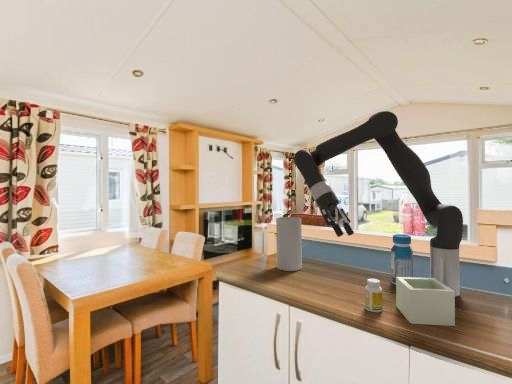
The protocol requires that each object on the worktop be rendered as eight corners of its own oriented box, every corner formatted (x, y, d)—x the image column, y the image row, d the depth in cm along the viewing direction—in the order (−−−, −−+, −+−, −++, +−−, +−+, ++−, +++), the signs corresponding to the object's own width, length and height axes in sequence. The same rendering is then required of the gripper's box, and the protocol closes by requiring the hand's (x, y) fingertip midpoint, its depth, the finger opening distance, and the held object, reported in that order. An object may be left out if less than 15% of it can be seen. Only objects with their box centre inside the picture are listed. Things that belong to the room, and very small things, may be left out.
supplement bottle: (362, 309, 94) (362, 280, 93) (368, 304, 97) (368, 276, 97) (379, 314, 90) (378, 284, 90) (385, 308, 94) (384, 280, 94)
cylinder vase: (272, 266, 145) (271, 218, 145) (292, 263, 151) (291, 216, 150) (286, 273, 134) (285, 220, 134) (307, 269, 140) (306, 218, 139)
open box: (396, 306, 95) (396, 276, 95) (434, 308, 94) (434, 278, 94) (410, 323, 84) (410, 289, 83) (454, 325, 82) (454, 291, 82)
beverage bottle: (403, 288, 112) (402, 237, 112) (386, 281, 120) (385, 234, 120) (418, 285, 115) (418, 236, 115) (400, 279, 123) (400, 233, 123)
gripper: (322, 189, 98) (346, 230, 91) (340, 191, 108) (363, 229, 102) (306, 200, 102) (328, 241, 95) (325, 202, 112) (346, 239, 106)
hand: (346, 235), depth 98 cm, fingers open, 8 cm apart
